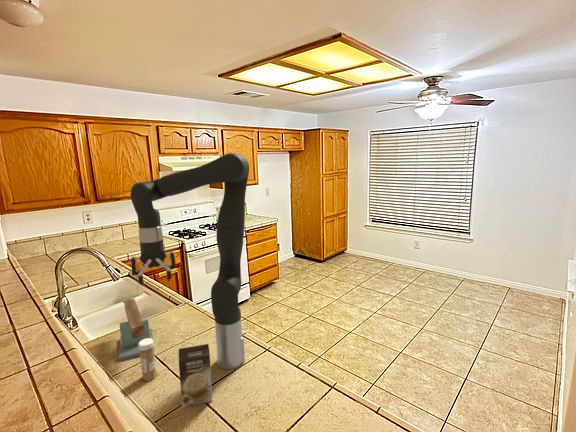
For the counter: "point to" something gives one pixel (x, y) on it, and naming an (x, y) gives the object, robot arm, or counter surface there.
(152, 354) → the sprinkles bottle
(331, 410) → the counter surface
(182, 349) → the coffee box
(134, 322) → the walnut bar
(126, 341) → the ridge stand
